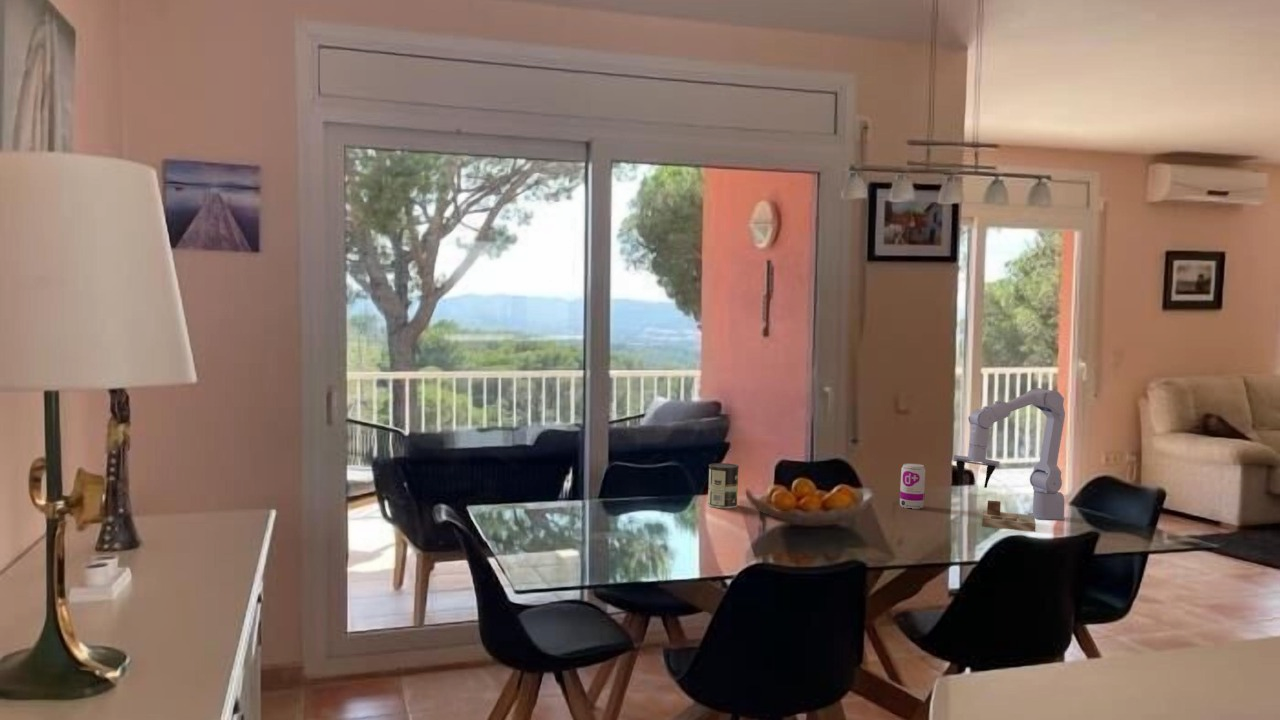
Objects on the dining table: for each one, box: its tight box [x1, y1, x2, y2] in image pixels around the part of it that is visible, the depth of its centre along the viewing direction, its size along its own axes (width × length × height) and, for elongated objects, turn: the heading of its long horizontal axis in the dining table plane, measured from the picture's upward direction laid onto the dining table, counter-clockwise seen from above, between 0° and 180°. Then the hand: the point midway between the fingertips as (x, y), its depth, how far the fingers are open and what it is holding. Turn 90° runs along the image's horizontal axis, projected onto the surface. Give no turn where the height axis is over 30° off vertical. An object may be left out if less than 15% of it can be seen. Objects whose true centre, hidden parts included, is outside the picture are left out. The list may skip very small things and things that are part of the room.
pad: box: [1017, 513, 1036, 521], centre depth 315 cm, size 5×8×2 cm, turn 159°
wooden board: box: [981, 510, 1036, 532], centre depth 314 cm, size 16×14×2 cm
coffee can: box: [707, 462, 739, 510], centre depth 329 cm, size 10×10×14 cm
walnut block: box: [986, 500, 1001, 516], centre depth 318 cm, size 4×4×4 cm
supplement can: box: [899, 463, 927, 510], centre depth 337 cm, size 8×8×15 cm
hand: (973, 485), depth 320 cm, fingers open, 7 cm apart
